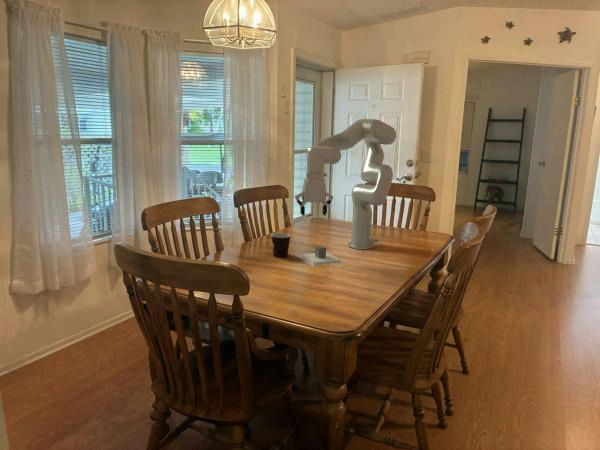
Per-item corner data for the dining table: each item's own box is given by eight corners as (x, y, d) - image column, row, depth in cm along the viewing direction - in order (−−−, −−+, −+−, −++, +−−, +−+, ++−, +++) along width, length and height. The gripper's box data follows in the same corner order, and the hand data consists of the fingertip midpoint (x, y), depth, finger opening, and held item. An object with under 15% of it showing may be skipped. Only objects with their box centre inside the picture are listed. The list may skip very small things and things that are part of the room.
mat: (327, 253, 210) (328, 252, 210) (344, 263, 195) (344, 262, 195) (296, 256, 203) (296, 255, 203) (311, 267, 189) (311, 265, 189)
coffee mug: (287, 260, 198) (288, 238, 196) (268, 258, 200) (269, 236, 198) (293, 253, 209) (293, 232, 207) (275, 251, 211) (275, 231, 209)
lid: (326, 254, 208) (327, 242, 206) (340, 261, 196) (340, 249, 195) (301, 256, 202) (301, 244, 201) (313, 264, 191) (313, 252, 190)
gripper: (331, 175, 198) (329, 213, 202) (293, 175, 194) (292, 213, 198) (336, 177, 191) (334, 216, 195) (297, 177, 187) (296, 217, 190)
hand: (313, 215), depth 196 cm, fingers open, 9 cm apart
